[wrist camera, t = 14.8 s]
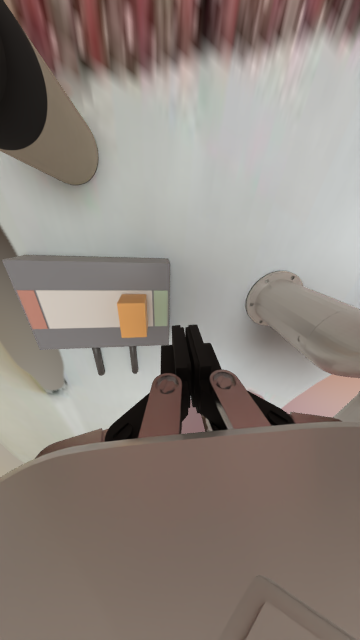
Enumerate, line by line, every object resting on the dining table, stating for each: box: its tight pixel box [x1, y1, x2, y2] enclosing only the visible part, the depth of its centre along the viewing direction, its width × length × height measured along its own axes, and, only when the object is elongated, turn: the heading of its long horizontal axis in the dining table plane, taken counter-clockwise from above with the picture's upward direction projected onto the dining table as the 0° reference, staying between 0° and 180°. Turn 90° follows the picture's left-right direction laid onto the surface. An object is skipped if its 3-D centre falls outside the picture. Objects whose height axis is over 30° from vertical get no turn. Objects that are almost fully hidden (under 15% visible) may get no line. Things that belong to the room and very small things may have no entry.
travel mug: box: [0, 0, 98, 185], centre depth 16 cm, size 8×8×18 cm
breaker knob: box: [117, 294, 148, 338], centre depth 28 cm, size 4×6×4 cm, turn 178°
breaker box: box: [2, 255, 170, 375], centre depth 35 cm, size 24×27×5 cm
